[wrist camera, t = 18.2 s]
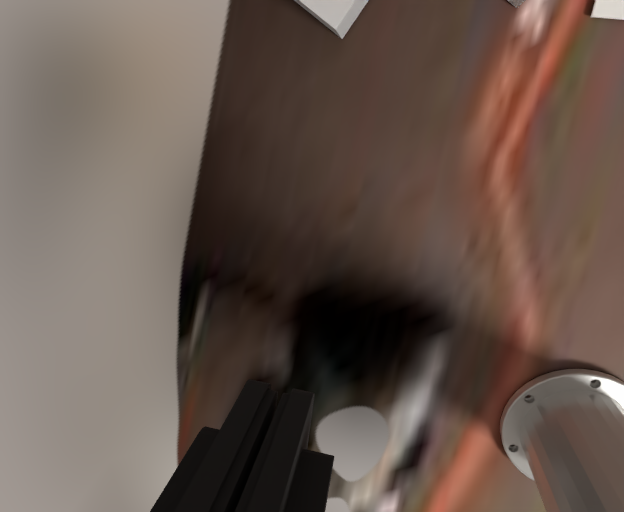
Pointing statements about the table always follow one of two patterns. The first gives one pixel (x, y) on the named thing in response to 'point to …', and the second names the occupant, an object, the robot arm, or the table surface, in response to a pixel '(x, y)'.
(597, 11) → the paper
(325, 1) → the button box
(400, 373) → the table surface
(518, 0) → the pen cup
